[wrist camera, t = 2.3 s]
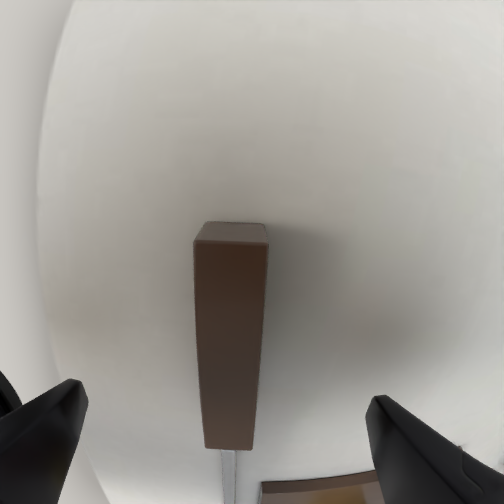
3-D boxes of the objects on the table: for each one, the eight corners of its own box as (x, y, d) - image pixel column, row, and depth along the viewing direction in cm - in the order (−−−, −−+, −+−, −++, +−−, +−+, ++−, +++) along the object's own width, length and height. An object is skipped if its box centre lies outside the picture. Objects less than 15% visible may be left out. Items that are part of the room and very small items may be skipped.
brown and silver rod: (217, 504, 17) (216, 529, 14) (204, 220, 10) (192, 240, 8) (244, 505, 17) (244, 530, 14) (264, 223, 10) (269, 243, 8)
